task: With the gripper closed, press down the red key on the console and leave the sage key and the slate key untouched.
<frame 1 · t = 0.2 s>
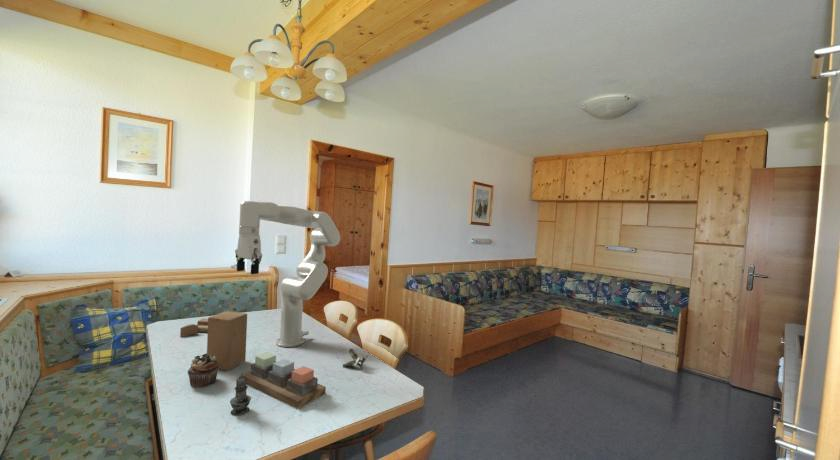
hand: (247, 272, 144), 36 cm above the table, tool pointing down, fingers open, 9 cm apart
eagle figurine: (353, 366, 145), on the table
slate key: (283, 368, 123), point 7 cm above the table, slide at 0.0 cm
sage key: (265, 361, 129), point 7 cm above the table, slide at 0.0 cm
grey tall stone piece: (240, 411, 108), on the table
cupcake: (203, 382, 124), on the table
wooden block: (226, 364, 140), on the table
red key: (302, 376, 118), point 7 cm above the table, slide at 0.0 cm
console: (282, 387, 124), on the table
wooden block set: (207, 333, 174), on the table
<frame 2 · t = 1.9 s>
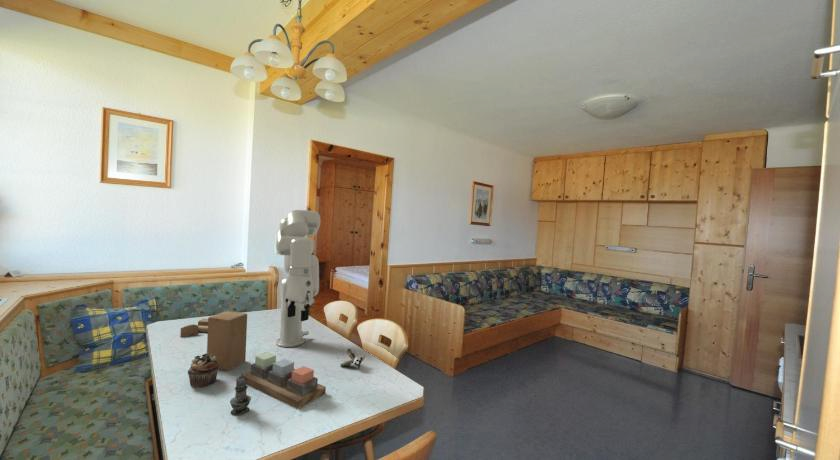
hand: (297, 318, 131), 23 cm above the table, tool pointing down, fingers open, 6 cm apart
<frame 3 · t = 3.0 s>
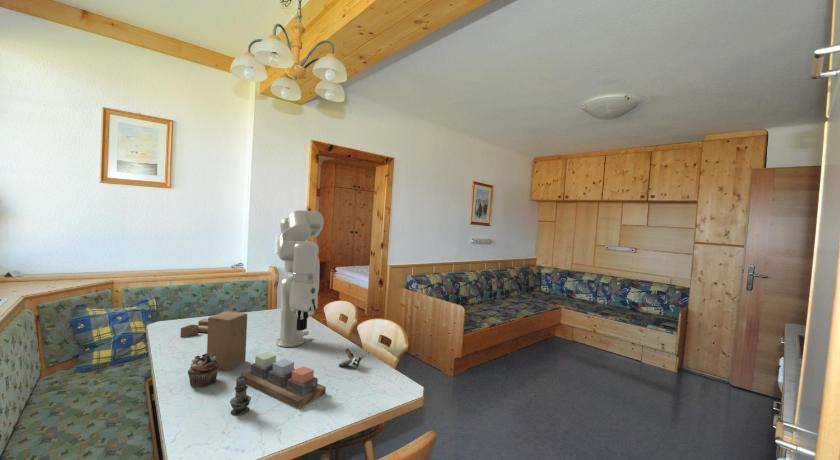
hand: (301, 329, 123), 21 cm above the table, tool pointing down, fingers closed
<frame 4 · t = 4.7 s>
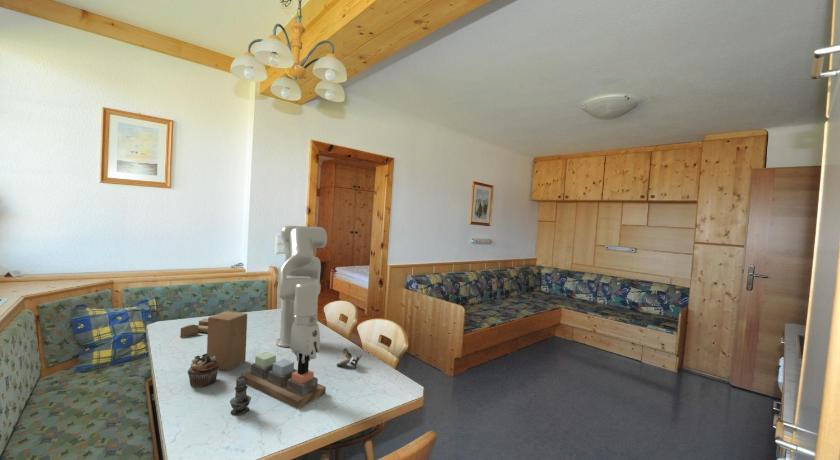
hand: (302, 372, 118), 8 cm above the table, tool pointing down, fingers closed
red key: (302, 378, 118), point 6 cm above the table, slide at 0.7 cm, touching gripper
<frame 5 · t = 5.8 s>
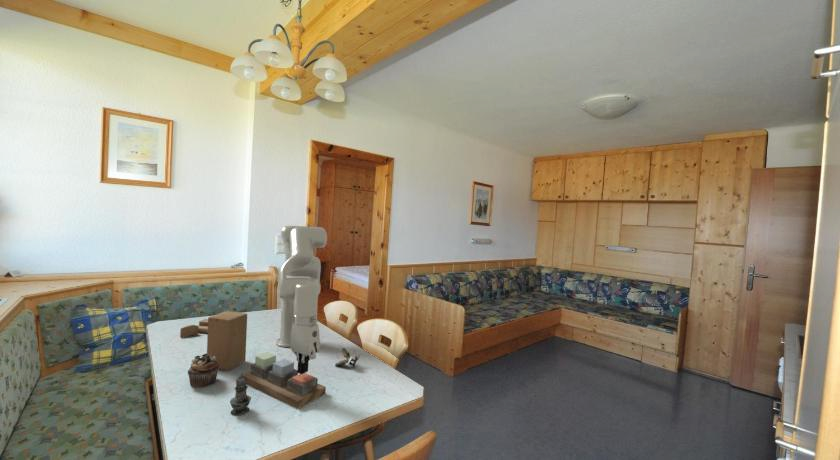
hand: (302, 372, 119), 8 cm above the table, tool pointing down, fingers closed
red key: (302, 382, 118), point 5 cm above the table, slide at 2.2 cm
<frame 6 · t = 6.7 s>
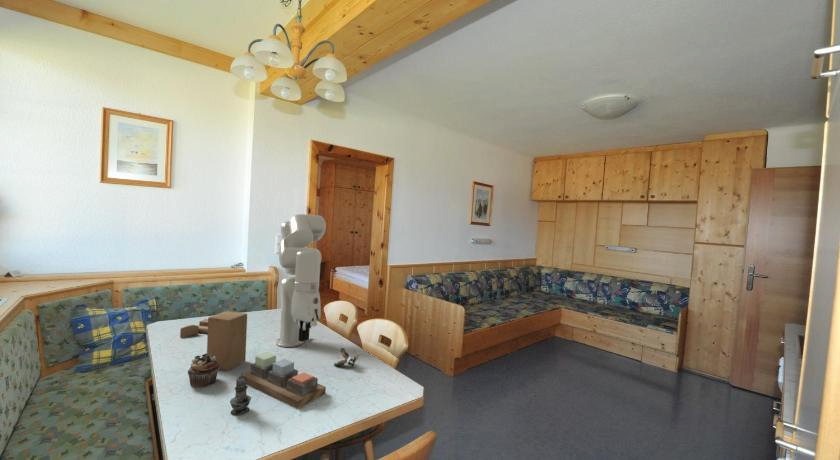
hand: (303, 340, 119), 19 cm above the table, tool pointing down, fingers closed
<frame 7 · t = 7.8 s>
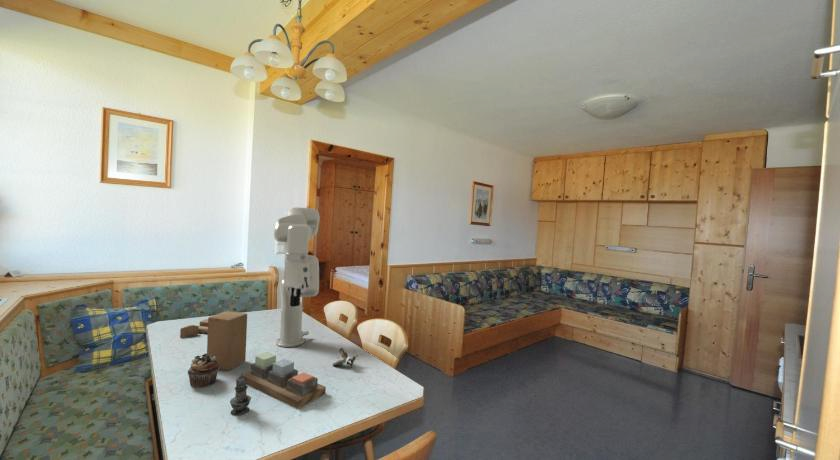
hand: (294, 305, 132), 27 cm above the table, tool pointing down, fingers closed
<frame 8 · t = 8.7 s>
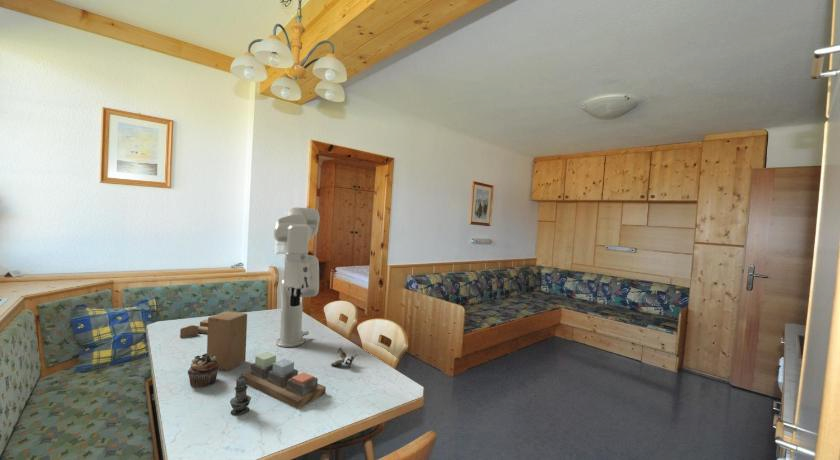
hand: (294, 305, 132), 27 cm above the table, tool pointing down, fingers closed
at the end: red key slide at 2.2 cm; sage key slide at 0.0 cm; slate key slide at 0.0 cm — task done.
